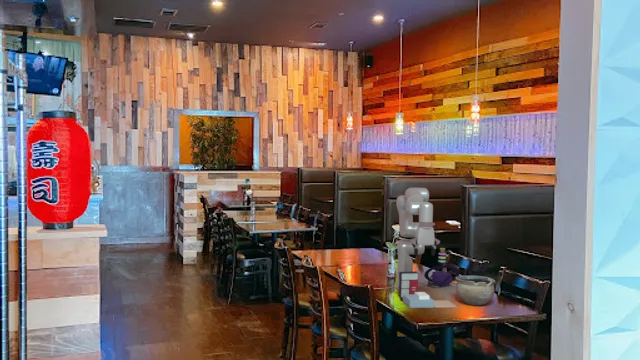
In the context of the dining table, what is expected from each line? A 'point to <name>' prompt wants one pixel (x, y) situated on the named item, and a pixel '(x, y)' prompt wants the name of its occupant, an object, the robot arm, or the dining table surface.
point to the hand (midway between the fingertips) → (424, 255)
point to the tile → (421, 295)
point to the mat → (443, 303)
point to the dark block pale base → (408, 283)
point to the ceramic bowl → (475, 289)
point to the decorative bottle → (441, 273)
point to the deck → (417, 301)
